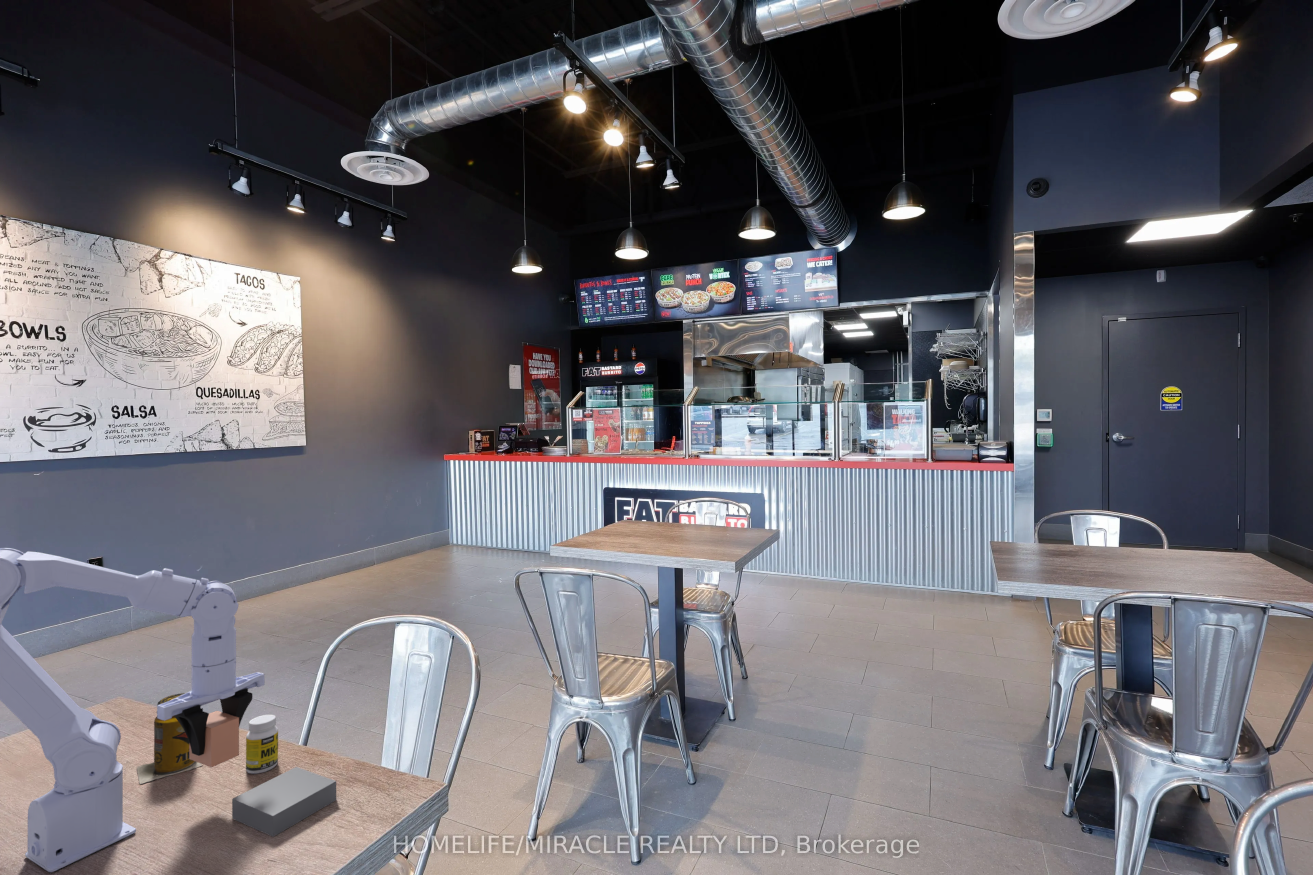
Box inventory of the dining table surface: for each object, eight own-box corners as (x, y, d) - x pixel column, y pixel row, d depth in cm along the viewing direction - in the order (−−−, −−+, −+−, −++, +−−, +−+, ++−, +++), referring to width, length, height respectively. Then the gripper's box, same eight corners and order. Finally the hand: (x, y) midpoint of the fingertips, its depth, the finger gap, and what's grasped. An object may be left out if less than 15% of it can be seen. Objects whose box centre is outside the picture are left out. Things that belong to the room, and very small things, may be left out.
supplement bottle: (262, 775, 103) (262, 726, 103) (239, 773, 104) (238, 724, 104) (284, 761, 108) (284, 714, 108) (262, 758, 109) (262, 712, 109)
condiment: (202, 766, 107) (202, 698, 107) (139, 785, 101) (139, 713, 101) (196, 751, 112) (196, 686, 112) (136, 768, 106) (136, 700, 106)
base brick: (273, 836, 87) (272, 815, 87) (232, 818, 92) (232, 798, 92) (336, 799, 96) (336, 780, 96) (296, 784, 100) (296, 766, 101)
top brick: (211, 767, 92) (211, 728, 92) (189, 758, 95) (189, 720, 95) (238, 755, 96) (238, 717, 96) (217, 747, 99) (217, 710, 99)
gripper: (175, 681, 87) (175, 775, 87) (275, 649, 100) (275, 731, 100) (149, 673, 91) (149, 764, 90) (250, 644, 104) (250, 723, 103)
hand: (214, 746), depth 96 cm, fingers closed on top brick, 4 cm apart
